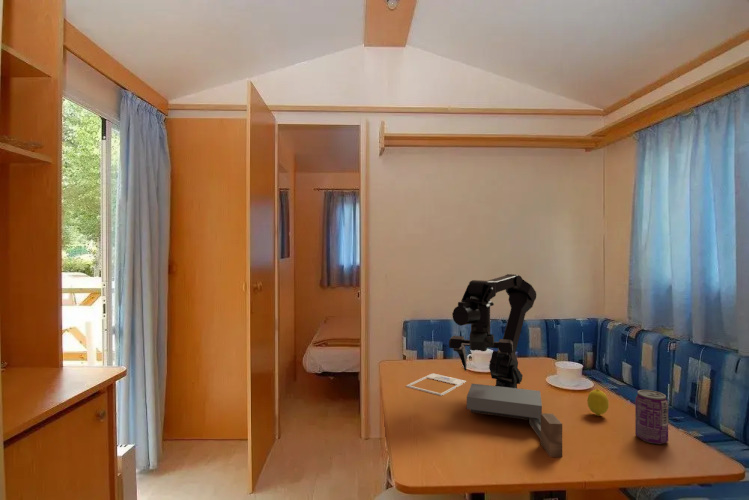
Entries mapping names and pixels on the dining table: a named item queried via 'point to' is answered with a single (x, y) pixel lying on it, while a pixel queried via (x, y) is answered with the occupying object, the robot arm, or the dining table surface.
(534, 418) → the steel token
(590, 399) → the lemon
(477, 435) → the dining table surface
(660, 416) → the beverage can
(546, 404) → the dining table surface
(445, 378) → the photo frame
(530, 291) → the robot arm
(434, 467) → the dining table surface
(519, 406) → the grey rectangular block
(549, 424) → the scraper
